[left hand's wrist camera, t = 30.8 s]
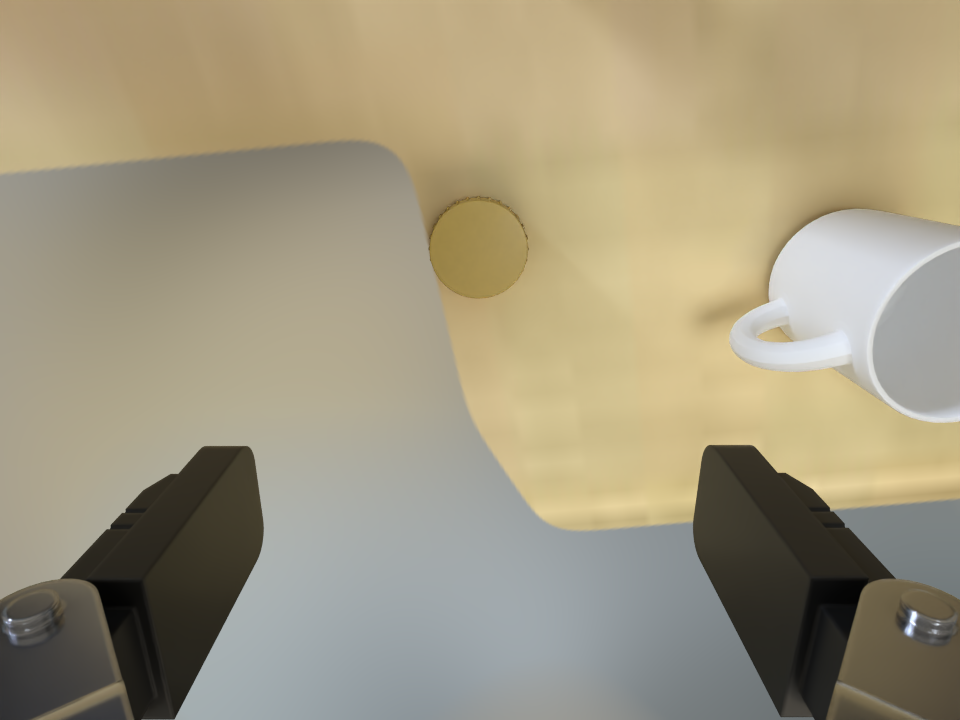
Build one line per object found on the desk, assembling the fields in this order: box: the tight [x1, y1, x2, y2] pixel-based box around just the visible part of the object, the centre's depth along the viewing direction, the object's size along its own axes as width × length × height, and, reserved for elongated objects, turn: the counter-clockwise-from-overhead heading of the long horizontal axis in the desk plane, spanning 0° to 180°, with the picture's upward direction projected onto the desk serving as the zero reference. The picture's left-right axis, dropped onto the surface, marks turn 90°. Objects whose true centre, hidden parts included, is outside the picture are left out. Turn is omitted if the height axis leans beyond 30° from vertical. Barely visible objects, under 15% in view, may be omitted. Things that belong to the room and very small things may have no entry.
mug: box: [729, 209, 960, 423], centre depth 31 cm, size 12×8×10 cm
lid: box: [429, 196, 529, 298], centre depth 35 cm, size 6×6×2 cm
